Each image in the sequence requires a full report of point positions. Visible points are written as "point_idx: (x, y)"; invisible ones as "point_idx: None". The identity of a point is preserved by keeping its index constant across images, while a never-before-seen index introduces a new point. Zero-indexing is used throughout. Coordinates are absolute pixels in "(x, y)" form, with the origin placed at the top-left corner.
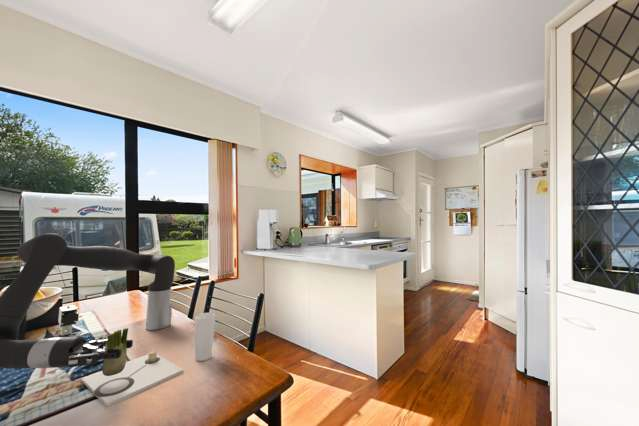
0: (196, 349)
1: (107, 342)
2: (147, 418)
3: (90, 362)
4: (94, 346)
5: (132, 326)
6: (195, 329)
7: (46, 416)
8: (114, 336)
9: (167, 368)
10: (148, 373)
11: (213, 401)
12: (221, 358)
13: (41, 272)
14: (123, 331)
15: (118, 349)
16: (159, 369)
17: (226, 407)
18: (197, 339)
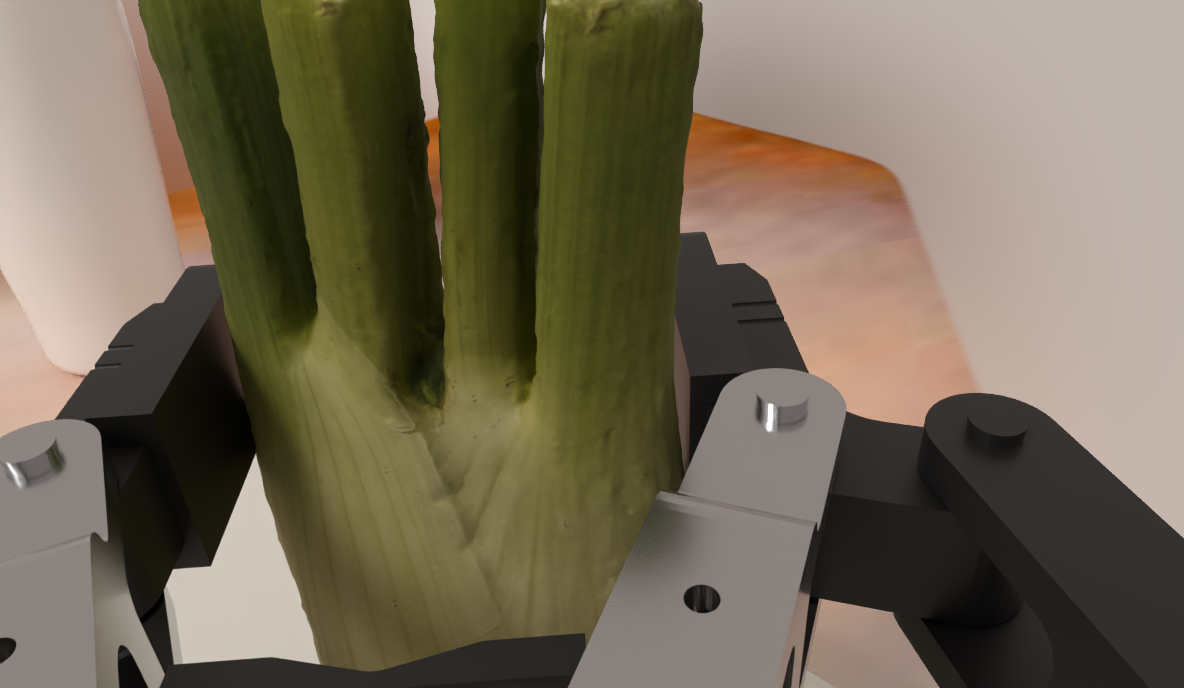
0: (123, 270)
1: (673, 216)
2: (959, 393)
3: (1033, 628)
4: (617, 616)
5: None
6: (39, 66)
7: None
8: (539, 67)
9: (244, 483)
10: (279, 610)
11: (752, 207)
12: (211, 259)
13: None
14: (239, 41)
15: (682, 242)
16: (230, 540)
17: (799, 171)
18: (112, 160)
